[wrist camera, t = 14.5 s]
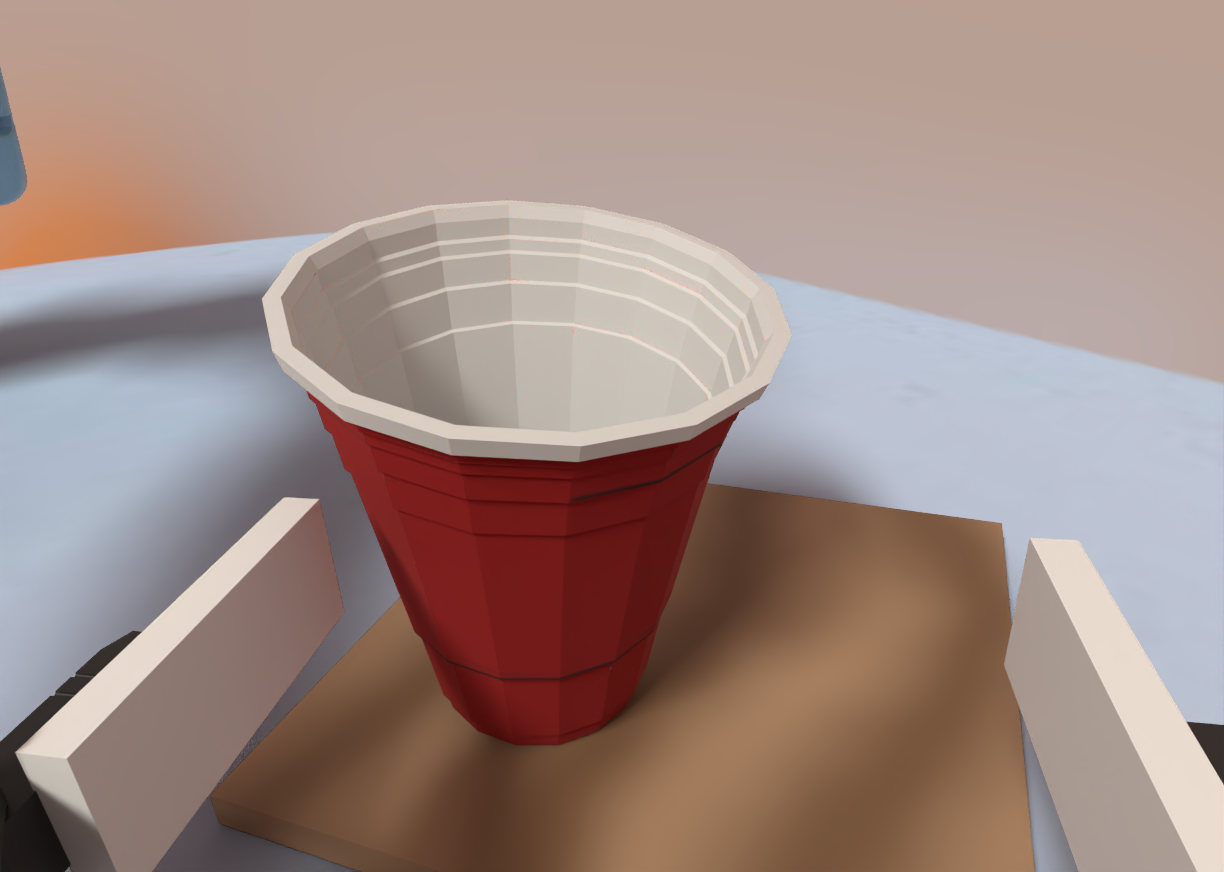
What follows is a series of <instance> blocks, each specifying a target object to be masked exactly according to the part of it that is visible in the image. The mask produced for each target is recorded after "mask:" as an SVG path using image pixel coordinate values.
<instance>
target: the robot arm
mask: <svg viewBox="0 0 1224 872" xmlns="http://www.w3.org/2000/svg"><path fill="white" fill-rule="evenodd" d="M26 186H27V175H26V170H25V165H24V161H23V157H22V153H21V149H20V145H19V141H18V137H17V133H16V130H15V126H14V122H13V119H12V113H11V109H10V105H9V102H8V96H7V93H6V88H5V85H4V80H3V76H2V73H1V69H0V206H1V205H6V204H9V203H12V202H14V201H16V200H17V199H19V198H20V197H21V196H22V194H23V193H24V191H25V189H26ZM343 614H344V607H343V603H342V598H341V594H340V589H339V585H338V580H337V576H336V571H335V567H334V562H333V558H332V553H331V549H330V544H329V540H328V535H327V531H326V526H325V522H324V518H323V513H322V509H321V504H320V500H319V499H307V498H289V497H284V498H283V499H282V500H281V501H280V502H278V503H277V504H276V505H275V506H274V507H273V508H272V509H271V510H270V511H269V512H268V513H267V514H266V515H265V516H264V517H263V518H262V519H261V520H260V521H258V522H257V523H256V524H255V525H254V526H253V527H252V528H251V529H250V530H249V531H248V532H247V533H246V534H245V535H244V536H243V537H242V538H241V539H239V540H238V541H237V542H236V543H235V544H234V545H233V546H232V547H231V548H230V549H229V550H228V551H227V552H226V553H225V554H224V555H223V556H222V557H221V558H219V559H218V560H217V561H216V562H215V563H214V564H213V565H212V566H211V567H210V568H209V569H208V570H207V571H206V572H205V573H204V574H203V575H202V576H201V577H199V578H198V579H197V580H196V581H195V582H194V583H193V584H192V585H191V586H190V587H189V588H188V589H187V590H186V591H185V592H184V593H183V594H182V595H180V596H179V597H178V598H177V599H176V600H175V601H174V602H173V603H172V604H171V605H170V606H169V607H168V608H167V609H166V610H165V611H164V612H163V613H162V614H160V615H159V616H158V617H157V618H156V619H155V620H154V621H153V622H152V623H151V624H150V625H149V626H148V627H147V628H146V629H145V630H144V631H143V632H138V631H132V632H130V633H129V634H127V635H125V636H123V637H122V638H120V639H118V640H117V641H115V642H113V643H112V644H110V645H108V646H106V647H105V648H103V649H101V650H100V651H99V652H98V653H97V654H96V655H94V656H93V657H92V658H91V659H90V660H89V661H88V662H87V663H86V664H85V665H84V666H82V667H81V668H80V669H79V670H78V671H77V672H76V676H75V677H70V678H69V679H68V680H67V681H66V682H65V683H64V684H63V685H62V686H61V687H60V688H58V689H57V690H56V694H55V696H50V697H49V698H48V699H46V700H45V701H44V702H43V703H42V704H41V705H40V706H39V707H38V708H37V709H36V710H34V711H33V712H32V713H31V714H30V715H29V716H28V717H27V718H26V719H25V720H24V721H22V722H21V723H20V724H19V725H18V726H17V727H16V728H15V729H14V730H13V731H12V732H10V733H9V734H8V735H7V736H6V737H5V738H4V739H3V740H2V741H1V742H0V872H65V871H66V870H67V868H68V867H70V869H71V871H72V872H152V871H153V870H154V868H155V867H156V866H157V864H158V863H159V862H160V860H161V859H162V858H163V856H164V855H165V854H166V852H167V851H168V850H169V848H170V847H171V846H172V844H173V843H174V841H175V840H176V839H177V837H178V836H179V835H180V833H181V832H182V831H183V829H184V828H185V827H186V825H187V824H188V823H189V821H190V820H191V819H192V817H193V816H194V815H195V813H196V812H197V810H198V809H199V808H200V806H201V805H202V804H203V802H204V801H205V800H206V798H207V797H208V796H209V794H210V793H211V792H212V790H213V789H214V788H215V786H216V785H217V783H218V782H219V781H220V779H221V778H222V777H223V775H224V774H225V773H226V771H227V770H228V769H229V767H230V766H231V765H232V763H233V762H234V761H235V759H236V758H237V757H238V755H239V754H240V752H241V751H242V750H243V748H244V747H245V746H246V744H247V743H248V742H249V740H250V739H251V738H252V736H253V735H254V734H255V732H256V731H257V730H258V728H259V727H260V725H261V724H262V723H263V721H264V720H265V719H266V717H267V716H268V715H269V713H270V712H271V711H272V709H273V708H274V707H275V705H276V704H277V703H278V701H279V700H280V699H281V697H282V696H283V694H284V693H285V692H286V690H287V689H288V688H289V686H290V685H291V684H292V682H293V681H294V680H295V678H296V677H297V676H298V674H299V673H300V672H301V670H302V669H303V667H304V666H305V665H306V663H307V662H308V661H309V659H310V658H311V657H312V655H313V654H314V653H315V651H316V650H317V649H318V647H319V646H320V645H321V643H322V642H323V641H324V639H325V638H326V636H327V635H328V634H329V632H330V631H331V630H332V628H333V627H334V626H335V624H336V623H337V622H338V620H339V619H340V618H341V616H342V615H343ZM1004 666H1005V669H1006V672H1007V675H1008V677H1009V680H1010V683H1011V686H1012V688H1013V691H1014V694H1015V697H1016V700H1017V702H1018V705H1019V708H1020V711H1021V713H1022V716H1023V719H1024V722H1025V725H1026V727H1027V730H1028V733H1029V736H1030V738H1031V741H1032V744H1033V747H1034V749H1035V752H1036V755H1037V758H1038V761H1039V763H1040V766H1041V769H1042V772H1043V774H1044V777H1045V780H1046V783H1047V786H1048V788H1049V791H1050V794H1051V797H1052V799H1053V802H1054V805H1055V808H1056V811H1057V813H1058V816H1059V819H1060V822H1061V824H1062V827H1063V830H1064V833H1065V836H1066V838H1067V841H1068V844H1069V847H1070V849H1071V852H1072V855H1073V858H1074V861H1075V863H1076V866H1077V869H1078V872H1224V725H1217V724H1205V723H1194V722H1186V721H1185V719H1184V717H1183V716H1182V714H1181V712H1180V711H1179V709H1178V707H1177V706H1176V704H1175V702H1174V701H1173V699H1172V697H1171V695H1170V694H1169V692H1168V690H1167V689H1166V687H1165V685H1164V684H1163V682H1162V680H1161V679H1160V677H1159V675H1158V674H1157V672H1156V670H1155V669H1154V667H1153V665H1152V664H1151V662H1150V660H1149V658H1148V657H1147V655H1146V653H1145V652H1144V650H1143V648H1142V647H1141V645H1140V643H1139V642H1138V640H1137V638H1136V637H1135V635H1134V633H1133V632H1132V630H1131V628H1130V626H1129V625H1128V623H1127V621H1126V620H1125V618H1124V616H1123V615H1122V613H1121V611H1120V610H1119V608H1118V606H1117V605H1116V603H1115V601H1114V600H1113V598H1112V596H1111V595H1110V593H1109V591H1108V589H1107V588H1106V586H1105V584H1104V583H1103V581H1102V579H1101V578H1100V576H1099V574H1098V573H1097V571H1096V569H1095V568H1094V566H1093V564H1092V563H1091V561H1090V559H1089V557H1088V556H1087V554H1086V552H1085V551H1084V549H1083V547H1082V546H1081V544H1080V542H1079V541H1078V540H1059V539H1041V538H1030V539H1029V544H1028V549H1027V554H1026V559H1025V564H1024V569H1023V574H1022V579H1021V583H1020V588H1019V593H1018V598H1017V603H1016V608H1015V613H1014V618H1013V623H1012V628H1011V632H1010V637H1009V642H1008V647H1007V652H1006V657H1005V662H1004Z"/></svg>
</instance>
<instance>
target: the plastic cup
mask: <svg viewBox="0 0 1224 872" xmlns="http://www.w3.org/2000/svg"><path fill="white" fill-rule="evenodd" d="M262 302H263V307H264V312H265V317H266V322H267V327H268V332H269V337H270V342H271V347H272V352H273V354H274V355H275V357H276V359H277V361H278V363H279V365H280V367H281V368H282V370H283V372H285V373H286V374H287V375H288V376H290V377H291V378H292V379H293V380H295V381H296V382H297V383H298V384H299V385H301V386H302V387H303V388H304V389H306V390H307V393H308V396H309V399H310V400H312V401H313V402H314V403H315V404H316V406H317V408H318V411H319V414H320V417H321V419H322V422H323V425H324V427H325V429H326V430H327V431H329V432H330V433H331V434H332V436H333V438H334V441H335V444H336V447H337V449H338V452H339V455H340V457H341V460H342V463H343V465H344V468H345V469H346V470H347V471H348V472H350V473H351V474H352V477H353V479H354V482H355V484H356V487H357V489H358V492H359V494H360V497H361V499H362V502H363V504H364V507H365V509H366V512H367V514H368V517H369V519H370V522H371V524H372V527H373V529H374V532H375V534H376V537H377V539H378V542H379V544H380V547H381V549H382V552H383V554H384V557H385V559H386V562H387V564H388V567H389V569H390V572H391V574H392V577H393V579H394V582H395V584H396V587H397V589H398V592H399V594H400V597H401V599H402V602H403V604H404V607H405V609H406V612H407V614H408V617H409V619H410V622H411V624H412V627H413V629H414V632H415V633H416V634H417V635H418V636H420V637H421V638H422V641H423V643H424V646H425V648H426V651H427V654H428V656H429V659H430V661H431V664H432V666H433V669H434V672H435V674H436V677H437V679H438V682H439V684H440V687H441V690H442V692H443V695H444V696H445V697H446V698H447V699H449V700H450V702H451V704H452V707H453V708H454V709H455V710H456V711H457V712H458V713H459V714H460V715H461V716H462V717H463V718H464V719H465V720H466V721H468V722H469V723H470V724H471V725H472V726H473V727H474V728H475V729H476V730H477V731H478V732H480V733H483V734H486V735H489V736H491V737H494V738H497V739H500V740H502V741H505V742H508V743H511V744H513V745H560V744H563V743H566V742H568V741H571V740H574V739H577V738H580V737H582V736H585V735H588V734H591V733H594V732H597V731H598V730H599V729H600V728H602V727H603V726H604V725H605V724H606V723H608V722H609V721H610V720H611V719H612V718H613V717H615V716H616V715H617V714H618V713H619V712H620V711H622V710H623V709H624V708H625V707H626V705H627V703H628V701H629V699H630V697H631V695H633V693H634V691H635V689H636V687H637V684H638V682H639V680H640V678H641V676H642V674H643V671H644V669H645V667H646V665H647V663H648V660H649V656H650V652H651V649H652V645H653V642H654V638H655V635H656V631H657V628H658V624H659V621H660V617H661V615H662V613H663V610H664V608H665V606H666V604H667V602H668V600H669V598H670V596H671V593H672V590H673V587H674V584H675V581H676V577H677V574H678V571H679V568H680V565H681V562H682V559H683V556H684V553H685V550H686V547H687V543H688V540H689V537H690V534H691V531H692V528H693V525H694V522H695V519H696V516H697V513H698V510H699V506H700V503H701V500H702V497H703V494H704V491H705V488H706V485H707V482H708V479H709V476H710V472H711V469H712V466H713V463H714V460H715V458H716V456H717V454H718V452H719V450H720V448H721V446H722V444H723V442H724V440H725V438H726V436H727V433H728V431H729V429H730V427H731V425H732V423H733V421H735V420H736V418H737V416H738V414H739V412H740V411H741V410H743V409H744V408H745V407H746V406H748V405H750V404H752V403H753V402H755V401H757V400H758V399H760V397H761V395H762V394H763V392H764V391H765V389H766V387H767V386H768V384H769V382H770V380H771V378H772V376H773V374H774V372H775V370H776V368H777V366H778V363H779V361H780V359H781V357H782V355H783V353H784V351H785V349H786V347H787V345H788V342H789V340H790V338H791V336H792V333H791V330H790V328H789V325H788V323H787V320H786V318H785V315H784V312H783V310H782V307H781V305H780V302H779V300H778V297H777V294H776V292H775V289H774V288H772V287H771V286H770V285H769V284H768V283H766V282H765V281H764V280H763V279H761V278H760V277H759V276H758V275H756V274H755V273H754V272H753V271H752V270H750V269H749V268H748V267H747V266H745V265H744V264H743V263H742V262H740V261H739V260H738V259H737V258H736V257H734V256H733V255H732V254H730V253H729V252H728V251H726V250H723V249H721V248H719V247H717V246H714V245H712V244H710V243H707V242H705V241H703V240H700V239H698V238H696V237H693V236H691V235H689V234H686V233H684V232H682V231H679V230H677V229H674V228H672V227H670V226H668V225H665V224H663V223H659V222H654V221H650V220H645V219H640V218H636V217H632V216H627V215H623V214H619V213H614V212H610V211H606V210H601V209H597V208H592V207H588V206H576V205H562V204H549V203H536V202H522V201H510V200H504V201H490V202H476V203H460V204H446V205H432V206H424V207H420V208H416V209H412V210H407V211H403V212H400V213H395V214H391V215H387V216H383V217H379V218H374V219H370V220H366V221H362V222H358V223H354V224H351V225H349V226H348V227H346V228H344V229H342V230H340V231H338V232H336V233H334V234H332V235H330V236H329V237H327V238H325V239H323V240H321V241H319V242H317V243H315V244H313V245H312V246H310V247H308V248H306V249H304V250H302V251H300V252H298V253H296V254H294V255H293V256H292V258H291V259H290V261H289V262H288V263H287V265H286V266H285V268H284V269H283V270H282V272H281V273H280V274H279V276H278V277H277V279H276V280H275V281H274V283H273V284H272V285H271V287H270V288H269V290H268V291H267V292H266V294H265V295H264V297H263V298H262Z"/></svg>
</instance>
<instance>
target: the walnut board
mask: <svg viewBox="0 0 1224 872" xmlns="http://www.w3.org/2000/svg"><path fill="white" fill-rule="evenodd" d="M1011 628H1012V626H1011V615H1010V605H1009V594H1008V583H1007V573H1006V562H1005V552H1004V541H1003V530H1002V523H996V522H988V521H981V520H974V519H966V518H959V517H951V516H944V515H937V514H929V513H922V512H915V511H907V510H900V509H893V508H885V507H878V506H870V505H863V504H856V503H848V502H841V501H834V500H826V499H819V498H811V497H804V496H797V495H789V494H782V493H775V492H767V491H760V490H753V489H745V488H738V487H730V486H723V485H716V484H708V483H707V485H706V488H705V491H704V494H703V497H702V500H701V503H700V506H699V510H698V513H697V516H696V519H695V522H694V525H693V528H692V531H691V534H690V537H689V540H688V543H687V547H686V550H685V553H684V556H683V559H682V562H681V565H680V568H679V571H678V574H677V577H676V581H675V584H674V587H673V590H672V593H671V596H670V598H669V600H668V602H667V604H666V606H665V608H664V610H663V613H662V615H661V617H660V621H659V624H658V628H657V631H656V635H655V638H654V642H653V645H652V649H651V652H650V656H649V660H648V663H647V665H646V667H645V669H644V671H643V674H642V676H641V678H640V680H639V682H638V684H637V687H636V689H635V691H634V693H633V695H631V697H630V699H629V701H628V703H627V705H626V707H625V708H624V709H623V710H622V711H620V712H619V713H618V714H617V715H616V716H615V717H613V718H612V719H611V720H610V721H609V722H608V723H606V724H605V725H604V726H603V727H602V728H600V729H599V730H598V731H597V732H594V733H591V734H588V735H585V736H582V737H580V738H577V739H574V740H571V741H568V742H566V743H563V744H560V745H513V744H511V743H508V742H505V741H502V740H500V739H497V738H494V737H491V736H489V735H486V734H483V733H480V732H478V731H477V730H476V729H475V728H474V727H473V726H472V725H471V724H470V723H469V722H468V721H466V720H465V719H464V718H463V717H462V716H461V715H460V714H459V713H458V712H457V711H456V710H455V709H454V708H453V707H452V704H451V702H450V700H449V699H447V698H446V697H445V696H444V695H443V692H442V690H441V687H440V684H439V682H438V679H437V677H436V674H435V672H434V669H433V666H432V664H431V661H430V659H429V656H428V654H427V651H426V648H425V646H424V643H423V641H422V638H421V637H420V636H418V635H417V634H416V633H415V632H414V629H413V627H412V624H411V622H410V619H409V617H408V614H407V612H406V609H405V607H404V604H403V602H402V599H401V597H400V598H399V599H398V600H397V601H396V602H395V603H394V604H393V605H392V606H391V607H390V608H389V609H388V610H387V611H386V612H385V614H384V615H383V616H382V617H381V618H380V619H379V620H378V621H377V622H376V623H375V624H374V625H373V626H372V627H371V628H370V629H369V630H368V631H367V632H366V633H365V634H364V635H363V636H362V637H361V638H360V639H359V641H358V642H357V643H356V644H355V645H354V646H353V647H352V648H351V649H350V650H349V651H348V652H347V653H346V654H345V655H344V656H343V657H342V658H341V659H340V660H339V661H338V662H337V663H336V664H335V665H334V666H333V668H332V669H331V670H330V671H329V672H328V673H327V674H326V675H325V676H324V677H323V678H322V679H321V680H320V681H319V682H318V683H317V684H316V685H315V686H314V687H313V688H312V689H311V690H310V691H309V692H308V693H307V695H306V696H305V697H304V698H303V699H302V700H301V701H300V702H299V703H298V704H297V705H296V706H295V707H294V708H293V709H292V710H291V711H290V712H289V713H288V714H287V715H286V716H285V717H284V718H283V719H282V720H281V722H280V723H279V724H278V725H277V726H276V727H275V728H274V729H273V730H272V731H271V732H270V733H269V734H268V735H267V736H266V737H265V738H264V739H263V740H262V741H261V742H260V743H259V744H258V745H257V746H256V747H255V749H254V750H253V751H252V752H251V753H250V754H249V755H248V756H247V757H246V758H245V759H244V760H243V761H242V762H241V763H240V764H239V765H238V766H237V767H236V768H235V769H234V770H233V771H232V772H231V773H230V774H229V776H228V777H227V778H226V779H225V780H224V781H223V782H222V783H221V784H220V785H219V786H218V787H217V788H216V789H215V790H214V791H213V792H212V793H211V794H210V795H209V796H210V798H211V801H212V804H213V807H214V810H215V813H216V816H217V818H218V821H219V823H220V824H223V825H226V826H228V827H231V828H234V829H237V830H240V831H243V832H246V833H249V834H252V835H255V836H258V837H261V838H264V839H267V840H270V841H272V842H275V843H278V844H281V845H284V846H287V847H290V848H293V849H296V850H299V851H302V852H305V853H308V854H311V855H314V856H316V857H319V858H322V859H325V860H328V861H331V862H334V863H337V864H340V865H343V866H346V867H349V868H352V869H355V870H357V871H360V872H1035V870H1034V859H1033V849H1032V838H1031V827H1030V817H1029V806H1028V796H1027V785H1026V774H1025V764H1024V753H1023V743H1022V732H1021V721H1020V711H1019V705H1018V702H1017V700H1016V697H1015V694H1014V691H1013V688H1012V686H1011V683H1010V680H1009V677H1008V675H1007V672H1006V669H1005V666H1004V662H1005V657H1006V652H1007V647H1008V642H1009V637H1010V632H1011Z"/></svg>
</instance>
